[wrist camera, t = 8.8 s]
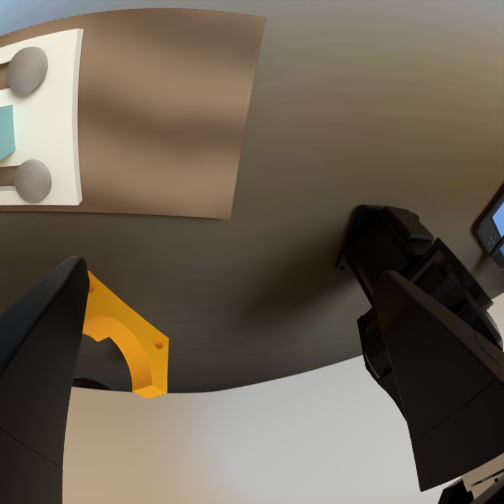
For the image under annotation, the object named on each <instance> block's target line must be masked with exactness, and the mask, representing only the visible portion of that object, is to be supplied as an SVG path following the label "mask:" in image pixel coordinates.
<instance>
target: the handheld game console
mask: <svg viewBox="0 0 504 504" xmlns="http://www.w3.org/2000/svg"><path fill="white" fill-rule="evenodd" d="M474 231H475V233H476V235H477V236H478V238H479V239H480V241H481V243H482V245H483V246H484V248H485V250H486V251H487V253H488V254H489V255H490V256H491V257H493V260H494V261H495V262H496V264H497V265H498V266H499V267H500V269H501V270H502V271H503V272H504V185H503V186H502V187H501V189H500V190H499V192H498V193H497V194H496V196H495V197H494V198H493V200H492V201H491V202H490V204H489V205H488V206H487V208H486V209H485V210H484V212H483V213H482V214H481V216H480V217H479V218H478V219H477V221H476V223H475V225H474Z"/></svg>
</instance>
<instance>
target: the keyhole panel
mask: <svg viewBox="0 0 504 504" xmlns="http://www.w3.org/2000/svg"><path fill="white" fill-rule="evenodd" d="M83 30H84V29H72V30H67V31H61V32H57V33H52V34H47V35H43V36H39V37H35V38H31V39H27V40H24V41H20V42H17V43H14V44H11V45H7V46H4V47H1V48H0V64H4V63H7V62H10V61H11V59H12V58H13V56H14V55H15V54H16V53H17V52H18V51H20V50H21V49H23V48H26V47H39V48H41V49H42V50H43V51H44V52H45V54H46V56H47V60H48V68H47V73H46V76H45V78H44V80H43V81H42V83H41V84H40V85H39V86H38V87H37V88H36V89H35V90H33V91H31V92H28V93H25V94H16V93H14V92H13V91H12V90H11V89H10V88H6V89H2V90H0V167H6V166H18V165H21V164H22V163H24V162H25V161H27V160H29V159H35V160H38V161H40V162H42V163H43V164H44V165H45V166H46V167H47V169H48V170H49V172H50V175H51V180H52V185H51V190H50V192H49V194H48V195H47V196H46V197H45V198H44V199H43V200H42V201H41V202H39V203H29V202H26V201H25V200H23V199H22V198H21V197H20V196H19V194H18V193H17V191H16V188H15V186H0V205H79V204H80V202H81V201H82V192H81V182H80V170H79V155H78V124H77V110H78V80H79V66H80V55H81V45H82V37H83Z"/></svg>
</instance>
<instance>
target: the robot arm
mask: <svg viewBox="0 0 504 504" xmlns="http://www.w3.org/2000/svg"><path fill="white" fill-rule="evenodd" d="M364 210H366V211H365V212H364V213H362V212H363V211H364ZM433 241H434V237H433V235H432V234H431V233H430V232H429V231H428V230H427V229H426V228H425V227H424V226H423V225H422V224H421V223H420V222H419V217H418V216H417V215H416V214H415V213H410V212H409V211H408V210H406V209H401V208H395V207H389V206H385V207H383V208H382V207H376V206H369V205H362V206H360V207H359V208H358V210H357V213H356V215H355V218H354V221H353V223H352V226H351V228H350V231H349V234H348V236H347V239H346V241H345V244H344V246H343V249H342V251H341V253H340V256H339V258H338V261H337V263H336V266H335V267H336V269H337V271H338V272H342V273H354V275H355V277H356V278H357V280H358V282H359V284H360V286H361V287H362V289H363V291H364V293H365V295H366V296H367V298H368V300H369V302H370V304H371V306H372V308H371V309H370V310H369V311H368V312H367V313H366V314H365V315H362V316H361V317H360V318H359V319H357V323H358V329H359V334H360V339H361V345H362V351H363V357H364V361H365V366H366V369H367V370H368V371H369V373H370V374H371V376H372V377H373V378H374V380H376V382H377V383H378V384H379V385H380V386H381V387H382V388H383V389H384V390H385V391H386V392H387V393H388V394H389V395H390V397H391V398H392V399H393V400H394V402H395V403H396V405H397V406H398V408H399V410H400V411H401V413H402V415H403V417H404V418H405V420H406V421H407V425H408V429H409V433H410V438H411V441H412V442H411V443H412V449H413V454H414V459H415V464H416V470H417V475H418V481H419V488H420V491H421V492H423V491H426V490H428V489H431V488H433V487H436V486H439V485H441V484H443V483H446V482H448V481H451V480H453V479H455V478H457V477H459V476H461V478H460V479H459V480H457V481H456V482H454V483H453V484H451V485H449V486H448V487H447V488H445V489H443V492H442V494H441V497H440V500H439V502H438V504H504V352H503V342H502V338H501V335H500V333H499V330H498V328H497V325H496V324H495V322H494V320H493V319H492V317H491V316H490V315H489V313H488V312H487V310H488V309H489V308H490V307H491V306H492V305H493V302H492V300H491V299H490V298H489V296H488V295H487V294H486V292H485V291H484V290H483V288H482V287H481V286H480V284H479V283H478V282H477V280H476V279H475V278H474V277H473V276H472V274H471V273H470V272H469V271H468V269H467V268H466V267H465V266H464V265H463V264H462V262H461V261H460V260H459V259H458V258H457V257H456V256H455V255H454V253H453V252H452V251H451V250H450V249H449V248H448V247H447V246H446V245H445V244H444V243H443V242H442V241H441V239H440V238H439V237H437V239H436V240H435V241H434V242H433ZM433 243H434V244H433ZM341 266H342V267H341ZM89 289H90V280H89V275H88V271H87V266H86V262H85V259H84V258H83V257H75V256H71V257H69V258H68V259H66V260H65V261H64V262H62V263H61V264H60V265H59V266H57V267H56V268H55V269H54V270H52V271H51V272H50V273H49V274H47V275H46V276H45V277H44V278H42V279H41V280H40V281H39V282H38V283H36V284H35V285H34V286H33V287H32V288H31V289H29V290H28V291H27V292H26V293H25V294H24V295H22V296H21V297H20V298H19V299H18V300H17V301H16V302H15V303H13V304H12V305H11V306H10V307H9V308H8V309H7V310H6V311H5V312H4V313H2V314H1V315H0V504H62V477H63V476H62V475H63V468H62V467H63V453H64V452H63V451H64V441H65V430H66V422H67V414H68V406H69V400H70V393H71V387H72V382H73V376H74V371H75V366H76V361H77V356H78V352H79V347H80V343H81V338H82V333H83V326H84V319H85V313H86V306H87V300H88V294H89Z"/></svg>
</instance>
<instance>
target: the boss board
mask: <svg viewBox="0 0 504 504" xmlns="http://www.w3.org/2000/svg"><path fill="white" fill-rule="evenodd" d="M265 19H266V18H264V17H259V16H253V15H246V14H240V13H232V12H224V11H214V10H202V9H183V8H146V9H128V10H116V11H106V12H98V13H91V14H84V15H78V16H73V17H68V18H63V19H58V20H54V21H49V22H45V23H41V24H38V25H34V26H30V27H27V28H24V29H20V30H17V31H14V32H11V33H8V34H5V35H3V36H0V48H1V47H4V46H7V45H11V44H14V43H17V42H20V41H24V40H27V39H31V38H35V37H39V36H43V35H47V34H52V33H57V32H61V31H67V30H72V29H84V30H83V37H82V45H81V55H80V66H79V80H78V110H77V124H78V155H79V170H80V182H81V192H82V201H81V202H80V204H79V205H0V211H66V212H103V213H130V214H152V215H172V216H190V217H206V218H222V219H230V216H231V209H232V203H233V196H234V190H235V184H236V178H237V171H238V165H239V159H240V153H241V147H242V141H243V136H244V130H245V124H246V118H247V113H248V107H249V102H250V96H251V91H252V85H253V80H254V75H255V69H256V64H257V59H258V54H259V49H260V44H261V39H262V34H263V29H264V24H265ZM47 68H48V60H47V56H46V54H45V52H44V51H43V50H42V49H41V48H39V47H26V48H23V49H21V50H20V51H18V52H17V53H16V54H15V55H14V56H13V58H12V59H11V61H10V62H7V63H4V64H0V90H2V89H6V88H10V89H11V90H12V91H13V92H14V93H16V94H25V93H28V92H31V91H33V90H35V89H36V88H37V87H38V86H39V85H40V84H41V83H42V81H43V80H44V78H45V76H46V73H47ZM51 185H52V180H51V175H50V172H49V170H48V169H47V167H46V166H45V165H44V164H43V163H42V162H40V161H38V160H35V159H29V160H27V161H25V162H24V163H22V164H21V165H18V166H6V167H0V186H15V188H16V191H17V193H18V194H19V196H20V197H21V198H22V199H23V200H25V201H26V202H29V203H39V202H41V201H42V200H43V199H44V198H45V197H46V196H47V195H48V194H49V192H50V190H51Z"/></svg>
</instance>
